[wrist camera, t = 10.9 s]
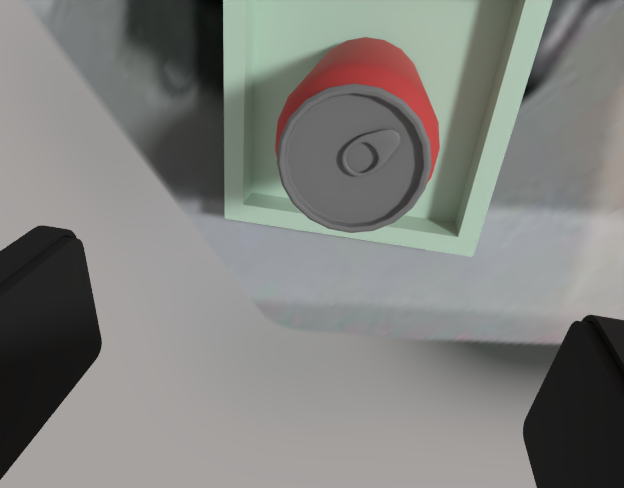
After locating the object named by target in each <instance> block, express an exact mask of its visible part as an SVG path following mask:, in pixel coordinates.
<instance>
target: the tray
mask: <svg viewBox="0 0 624 488" xmlns="http://www.w3.org/2000/svg"><path fill="white" fill-rule="evenodd" d="M551 4H552V0H223V48H224V198H225V219H231V220H237V221H244V222H250V223H257V224H263V225H270V226H276V227H283V228H289V229H296V230H302V231H309V232H315V233H322V234H328V235H335V236H341V237H348V238H354V239H361V240H367V241H373V242H380V243H386V244H393V245H399V246H406V247H412V248H419V249H425V250H432V251H438V252H445V253H451V254H458V255H464V256H471V257H473V255H474V252H475V249H476V246H477V242H478V239H479V236H480V233H481V229H482V226H483V223H484V220H485V217H486V213H487V210H488V207H489V204H490V200H491V197H492V194H493V191H494V187H495V184H496V181H497V178H498V175H499V171H500V168H501V165H502V162H503V158H504V155H505V152H506V149H507V146H508V142H509V139H510V136H511V133H512V129H513V126H514V123H515V120H516V117H517V113H518V110H519V107H520V104H521V100H522V97H523V94H524V91H525V88H526V84H527V81H528V78H529V75H530V71H531V68H532V65H533V62H534V59H535V55H536V52H537V49H538V46H539V42H540V39H541V36H542V33H543V29H544V26H545V23H546V20H547V17H548V13H549V10H550V7H551ZM363 37H369V38H375V39H381V40H385V41H387V42H389V43H391V44H393V45H394V46H396V47H398V48H400V49H402V51H403V52H404V53H405V54H406V55H407V56H408V57H409V58H410V60H411V61H412V62H413V63H414V65H415V67H416V69H417V72H418V74H419V76H420V79H421V81H422V84H423V86H424V88H425V91H426V93H427V95H428V98H429V100H430V103H431V105H432V108H433V110H434V112H435V115H436V117H437V120H438V122H439V141H440V150H439V153H438V157H437V160H436V164H435V167H434V171H433V174H432V177H431V179H430V180H429V182H428V183H427V185H426V189H425V190H424V192H423V193H422V195H421V196H420V198H419V199H418V201H417V202H416V204H415V205H414V207H413V208H412V209H411V210H410V211H408V212H407V213H406V214H405V215H403V216H402V217H401V218H400V219H398V220H397V221H396V222H395V223H392V224H390V225H387V226H385V227H382V228H380V229H377V230H374V231H367V232H357V233H348V232H342V231H337V230H332V229H328V228H326V227H324V226H322V225H320V224H318V223H316V222H314V221H312V220H310V219H308V218H307V217H306V216H305V215H304V214H303V213H302V212H301V211H300V210H299V209H298V208H297V207H296V206H295V205H293V203H292V202H291V200H290V198H289V196H288V195H287V193H286V191H285V190H284V188H283V186H282V184H281V179H280V175H279V170H278V166H277V156H276V151H275V142H276V132H277V122H278V118H279V116H280V114H281V112H282V109H283V107H284V105H285V103H286V100H287V98H288V96H289V95H290V94H291V93H292V92H293V91H294V90H295V88H296V87H297V86H298V85H299V84H300V83H301V82H302V80H303V79H304V78H305V77H306V76H307V75H308V74H309V73H310V71H311V70H312V69H313V68H314V67H315V66H316V65H317V64H318V62H319V61H320V60H321V59H322V58H323V57H324V56H325V55H326V54H327V53H328V52H329V50H331V49H332V48H334V47H336V46H338V45H340V44H341V43H343V42H345V41H347V40H352V39H358V38H363Z"/></svg>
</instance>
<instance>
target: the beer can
mask: <svg viewBox="0 0 624 488" xmlns="http://www.w3.org/2000/svg"><path fill="white" fill-rule="evenodd" d="M439 150H440V141H439V122H438V120H437V117H436V115H435V112H434V110H433V108H432V105H431V103H430V100H429V98H428V95H427V93H426V91H425V88H424V86H423V84H422V81H421V79H420V76H419V74H418V72H417V69H416V67H415V65H414V63H413V62H412V61H411V60H410V58H409V57H408V56H407V55H406V54H405V53H404V52H403V51H402V49H400V48H398V47H396V46H394V45H393V44H391V43H389V42H387V41H385V40H381V39H375V38H369V37H363V38H358V39H352V40H347V41H345V42H343V43H341V44H340V45H338V46H336V47H334V48H332V49H331V50H329V52H328V53H327V54H326V55H325V56H324V57H323V58H322V59H321V60H320V61H319V62H318V64H317V65H316V66H315V67H314V68H313V69H312V70H311V71H310V73H309V74H308V75H307V76H306V77H305V78H304V79H303V80H302V82H301V83H300V84H299V85H298V86H297V87H296V88H295V90H294V91H293V92H292V93H291V94H290V95H289V96H288V98H287V100H286V103H285V105H284V107H283V109H282V112H281V114H280V116H279V118H278V122H277V132H276V142H275V151H276V156H277V166H278V170H279V175H280V179H281V184H282V186H283V188H284V190H285V191H286V193H287V195H288V196H289V198H290V200H291V202H292V203H293V205H295V206H296V207H297V208H298V209H299V210H300V211H301V212H302V213H303V214H304V215H305V216H306V217H307V218H308V219H310V220H312V221H314V222H316V223H318V224H320V225H322V226H324V227H326V228H328V229H332V230H337V231H342V232H348V233H357V232H367V231H374V230H377V229H380V228H382V227H385V226H387V225H390V224H392V223H395V222H396V221H397V220H398V219H400V218H401V217H402V216H403V215H405V214H406V213H407V212H408V211H410V210H411V209H412V208H413V207H414V205H415V204H416V202H417V201H418V199H419V198H420V196H421V195H422V193H423V192H424V190H425V189H426V185H427V183H428V182H429V180H430V179H431V177H432V174H433V171H434V167H435V164H436V160H437V157H438V153H439Z"/></svg>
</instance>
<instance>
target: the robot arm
mask: <svg viewBox="0 0 624 488" xmlns="http://www.w3.org/2000/svg"><path fill="white" fill-rule="evenodd" d="M101 344H102V341H101V335H100V330H99V325H98V319H97V314H96V309H95V304H94V299H93V294H92V288H91V283H90V278H89V273H88V267H87V262H86V257H85V252H84V247H83V244H82V242H81V240H79V239H77V238H76V236H75V234H74V233H73V232H72V231H71V230H67V229H61V228H55V227H49V226H38V227H36V228H34V229H32V230H31V231H29V232H28V233H26V234H25V235H23V236H22V237H20V238H19V239H18V240H16V241H15V242H13V243H12V244H10V245H9V246H7V247H6V248H5V249H3V250H1V251H0V480H1V478H2V477H3V475H5V473H6V472H7V471H8V470H9V468H10V467H11V466H12V464H13V463H14V462H15V461H16V460H17V458H18V457H19V456H20V454H21V453H22V452H23V451H24V449H25V448H26V447H27V446H28V444H29V443H30V442H31V441H32V439H33V438H34V437H35V436H36V434H37V433H38V432H39V431H40V429H41V428H42V427H43V425H44V424H45V423H46V422H47V420H48V419H49V418H50V417H51V415H52V414H53V413H54V412H55V410H56V409H57V408H58V407H59V405H60V404H61V403H62V401H63V400H64V399H65V398H66V397H67V395H68V394H69V393H70V391H71V390H72V389H73V388H74V386H75V385H76V384H77V383H78V381H79V380H80V379H81V378H82V376H83V375H84V374H85V372H86V371H87V370H88V369H89V368H90V366H91V365H92V364H93V362H94V361H95V360H96V358H97V357H98V355H99V353H100V350H101ZM523 437H524V442H525V445H526V449H527V453H528V456H529V460H530V464H531V468H532V471H533V475H534V479H535V482H536V486H537V488H624V320H619V319H613V318H607V317H601V316H595V315H588V316H586V317H585V318H583V320H582V321H575V322H574V323H572V325H571V326H570V328H569V330H568V332H567V334H566V336H565V338H564V340H563V342H562V344H561V346H560V349H559V351H558V353H557V355H556V357H555V359H554V361H553V363H552V365H551V367H550V369H549V371H548V373H547V375H546V377H545V379H544V382H543V384H542V386H541V388H540V390H539V392H538V394H537V396H536V398H535V400H534V402H533V404H532V406H531V409H530V410H529V412H528V415H527V417H526V419H525V422H524V427H523Z"/></svg>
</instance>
